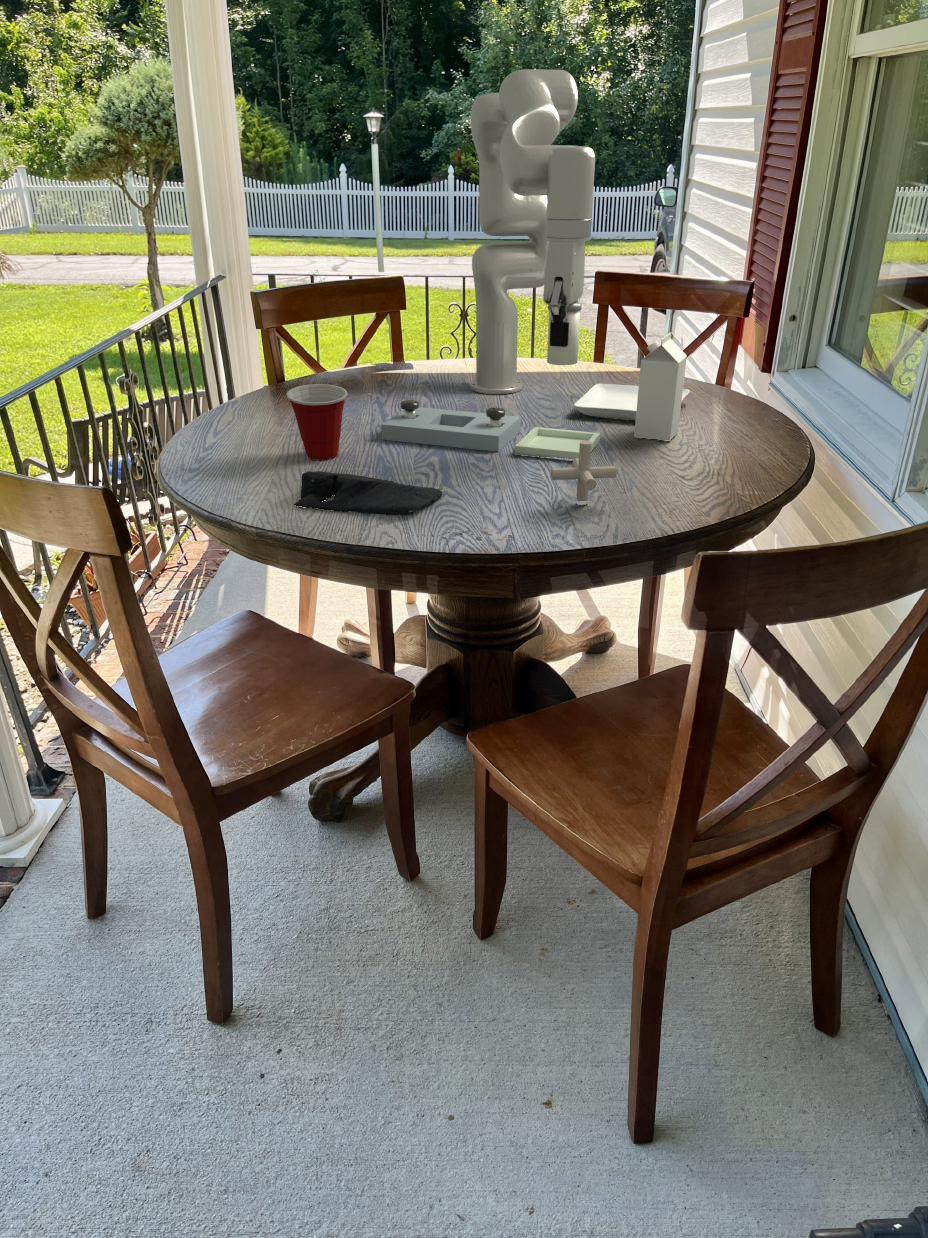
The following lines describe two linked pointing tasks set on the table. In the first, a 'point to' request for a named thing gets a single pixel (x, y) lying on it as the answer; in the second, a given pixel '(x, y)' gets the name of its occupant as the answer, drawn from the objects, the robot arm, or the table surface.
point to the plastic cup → (319, 418)
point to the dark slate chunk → (363, 494)
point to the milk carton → (660, 390)
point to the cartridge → (569, 352)
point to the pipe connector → (583, 472)
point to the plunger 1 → (410, 408)
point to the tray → (554, 443)
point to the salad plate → (612, 401)
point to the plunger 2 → (495, 416)
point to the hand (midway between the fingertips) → (563, 341)
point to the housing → (452, 429)
